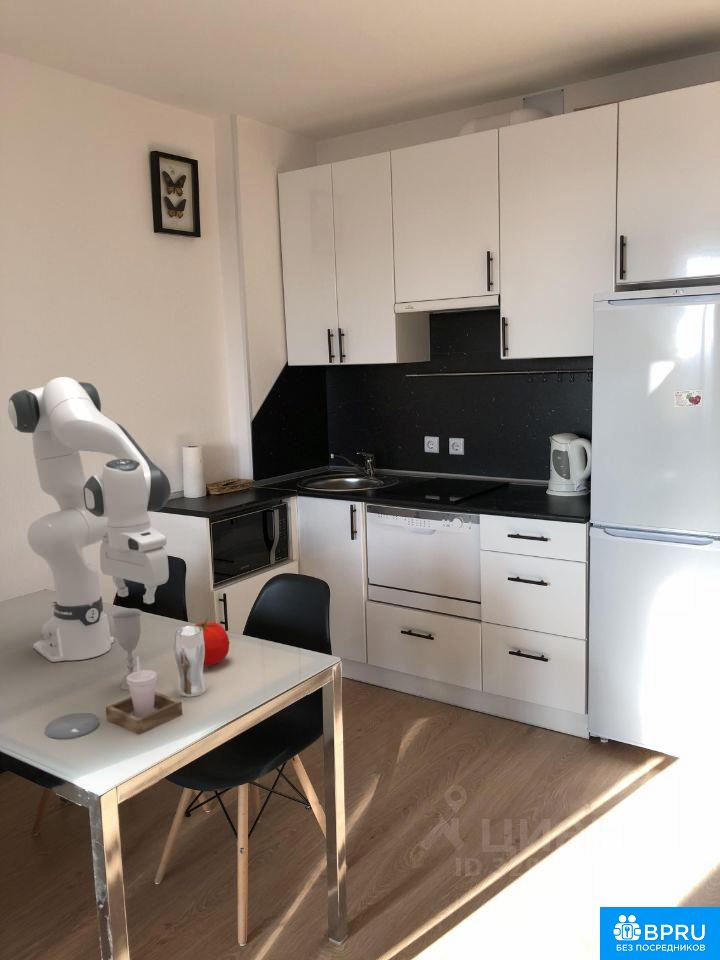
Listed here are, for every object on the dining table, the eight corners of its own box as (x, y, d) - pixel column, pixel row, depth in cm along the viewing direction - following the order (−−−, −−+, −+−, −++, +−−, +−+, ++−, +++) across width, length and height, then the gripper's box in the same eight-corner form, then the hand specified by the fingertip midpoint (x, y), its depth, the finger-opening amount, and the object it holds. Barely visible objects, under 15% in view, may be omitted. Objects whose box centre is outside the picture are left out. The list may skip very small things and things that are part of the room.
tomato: (222, 652, 217) (219, 612, 215) (236, 667, 207) (234, 624, 205) (177, 661, 212) (174, 620, 210) (190, 677, 201) (187, 633, 200)
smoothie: (136, 710, 184) (131, 651, 181) (163, 711, 183) (159, 651, 181) (125, 723, 178) (120, 662, 175) (153, 724, 177) (149, 662, 175)
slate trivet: (35, 729, 176) (35, 727, 176) (81, 711, 184) (80, 708, 184) (63, 744, 169) (63, 741, 169) (109, 724, 178) (109, 721, 177)
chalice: (152, 684, 198) (147, 612, 195) (127, 693, 193) (121, 620, 190) (136, 676, 203) (131, 606, 200) (111, 685, 198) (105, 613, 195)
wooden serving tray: (106, 720, 180) (105, 707, 179) (150, 701, 188) (149, 689, 188) (139, 734, 172) (137, 721, 172) (182, 714, 181) (181, 701, 181)
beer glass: (175, 688, 195) (170, 628, 193) (204, 683, 197) (200, 623, 195) (179, 700, 189) (175, 637, 186) (210, 694, 191) (206, 632, 189)
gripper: (89, 534, 179) (96, 595, 181) (145, 545, 165) (151, 611, 168) (114, 528, 183) (120, 588, 185) (171, 538, 170) (177, 602, 172)
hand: (136, 599), depth 176 cm, fingers open, 8 cm apart
